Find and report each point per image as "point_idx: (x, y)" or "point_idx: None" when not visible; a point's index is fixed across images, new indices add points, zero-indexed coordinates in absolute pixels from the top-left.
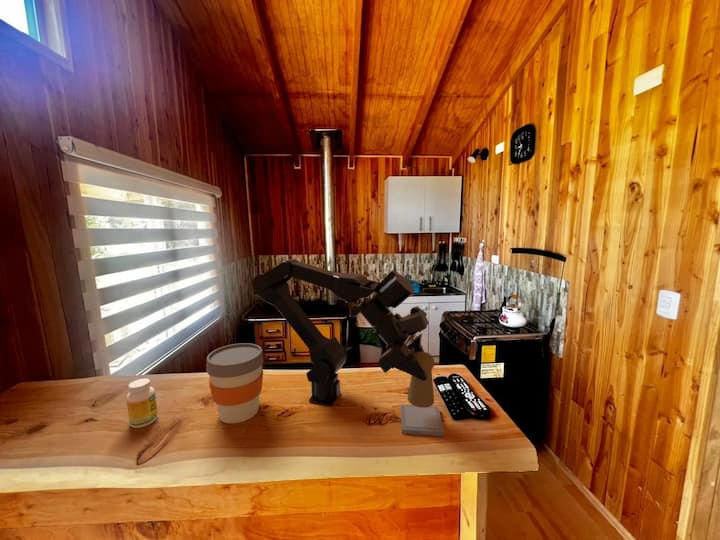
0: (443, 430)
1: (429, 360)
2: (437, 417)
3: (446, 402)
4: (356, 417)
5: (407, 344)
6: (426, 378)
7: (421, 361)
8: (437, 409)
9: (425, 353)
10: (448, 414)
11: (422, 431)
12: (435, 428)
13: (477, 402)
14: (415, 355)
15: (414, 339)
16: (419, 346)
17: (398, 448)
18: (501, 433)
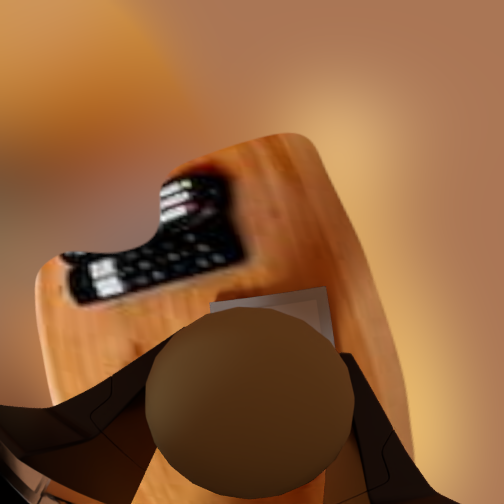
0: (319, 288)
1: (320, 354)
2: (264, 305)
3: (171, 276)
4: (292, 500)
5: (88, 501)
6: (349, 356)
7: (345, 424)
8: (223, 304)
9: (211, 401)
10: (225, 274)
11: (334, 346)
12: (317, 310)
13: (162, 198)
14: (266, 486)
15: (46, 481)
16: (94, 437)
17: (389, 393)
18: (273, 159)
